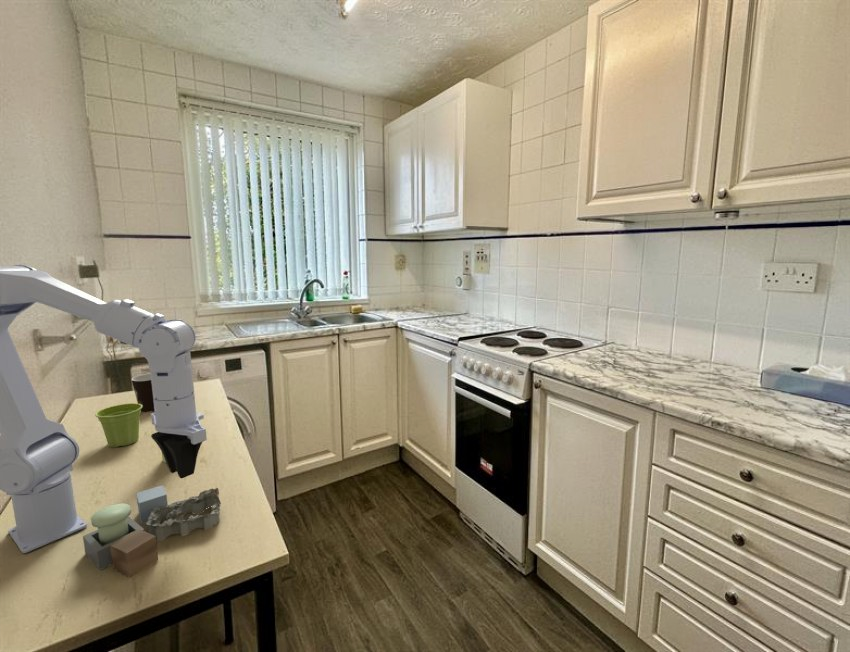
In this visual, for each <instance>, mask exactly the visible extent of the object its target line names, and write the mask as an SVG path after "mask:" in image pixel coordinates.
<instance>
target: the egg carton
mask: <svg viewBox="0 0 850 652" xmlns="http://www.w3.org/2000/svg"><path fill="white" fill-rule="evenodd" d="M219 496H220V490H219V488H218V487H216V488H210V489H205V490H204V491H201V492H199V494H198V495H197V496H196V495H195V496H189V498H187V499H184V500H178V501H174V502H172V503H170V504H168V506H164V507H163V508H161V507H155V508H153V511H151V515H150V516H149V518H148V521H147V522H146V523H145V524H146V525H148V527H147V528H148V529H147V530H148V533H150V534H152V535H154V536H156V543H157V542H158V543H159V542H162V541H165V539H166V538H168V537H169V536H172V535H174V534H179V535H180V536H186V535H188V534H190V533H191V532H192V531H193V530H195V529H201V528H202V529H203V530H204V531H207V530H211V529H212V528H213V526H215V525H216V524H218V523H219V522H220V512H221V508H220V507H221V506H222V502H221V500H220V497H219ZM211 506H212V507H211ZM208 507H211V508H210V509H211V512H210V513H207V514H204V515H201V514H202V513H204V512H205V511H207V509H206V508H208ZM208 509H209V508H208ZM203 511H204V512H203ZM219 511H220V512H219ZM189 512H190V513H192V514H193V513H194V514H195V515H196V516H193V515H194V514H193V515H190V516H189V517H188V519H184V516H185V515H186V513H187V514H190V513H189ZM201 512H202V513H201ZM198 513H199V514H198ZM164 519H166V520H164ZM163 520H164V521H163ZM162 521H163V522H162ZM161 522H162V524H161Z"/></svg>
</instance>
